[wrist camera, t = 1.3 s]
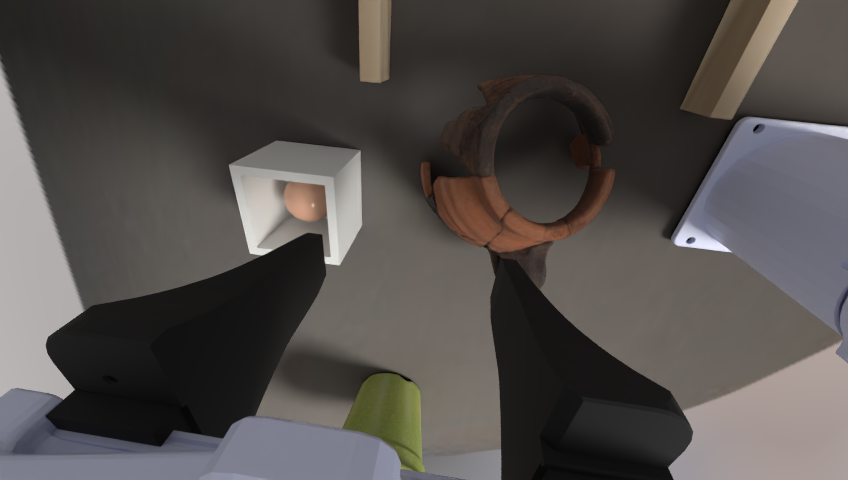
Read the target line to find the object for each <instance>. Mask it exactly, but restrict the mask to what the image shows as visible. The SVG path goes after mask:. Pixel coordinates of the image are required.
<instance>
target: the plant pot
mask: <svg viewBox="0 0 848 480" xmlns="http://www.w3.org/2000/svg"><path fill="white" fill-rule="evenodd" d="M342 429H347V430H353V431H359V432H363V433H366V434H369V435H372V436H376V437H379V438H381V439H382V440H383V441H385V442H386V443H388V444H389V445H391V446H392V447H393V448H394V449H395V451H396V452H397V455H398V457H399V459H400V462H401V469H405V470H411V471H417V472H423V473H425V470H424V465H423V463H422V448H421V415H420V392H419V389H418V387H417V386H416V385H415V384H414V383H413V382H412V381H406V380H404V379H403V378H402V377H401V376H399V375H397V374H391V373H379V374H374V375H372V376H370V377H369V378H368V379H367V380H366V381H365V382H364V383H363V384H362V386H361V388H360V390H359V392H358V395H357V397H356V399H355V401H354V404H353V406H352V408H351V410H350V413H349V415H348V417H347V419H346V421H345V424H344V426H343V428H342Z"/></svg>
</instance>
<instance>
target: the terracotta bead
mask: <svg viewBox="0 0 848 480" xmlns="http://www.w3.org/2000/svg"><path fill="white" fill-rule="evenodd" d="M284 203H285V206H286V208H287V209H288V211H289V212H290V213H291V214H292V215H293V216H294V217H296V218H298V219H300V220H303V221H309V222H310V221H317V220H320V219H322V218H324V217H325V216H326V215H327V206H326V194H325V185H318V184H309V183H301V182H293V181H289V182H288V184H287V186H286V187H285V190H284Z"/></svg>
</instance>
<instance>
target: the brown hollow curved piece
mask: <svg viewBox="0 0 848 480" xmlns="http://www.w3.org/2000/svg"><path fill="white" fill-rule="evenodd" d="M477 87H478V89H479V90H480V91H482V92H483V95H484V97H485V100H486V103H487V106H485V107H473V108H472V109H470V110H467V111H465V112H463V113H462V114H461V115H460V116H459V117H458V118H457V119H456V120H454V121H451V122H448V123H447V124H446V125H445V126H444V128H443V131H442V133H441V136H440V138H439V145H440V147H442V148H446V149H450V150H451V152H452V154H453V155H454V156H455V157H456V158H457V159H458V160H460V162H461V163H462V164H463V166H464V167H465V168H466V169H467V171H468V172H469V174H470V175H468V176H460V177H446V176H439V177H438V178H437V179H436V180H435V182H434V184H433V189H434V192H433V189H432V183H431V166H430V163H429V162H422V163H421V168H420V169H421V181H422V185H423V191H424V194H425V196H426V200H427V202H428V204H429V206H430V207H431V208H432V210H433V211H434V212H435V213H436V214H437V216H438V217H439V218H440V219H441V220H442V221H443V222H444V223H445V224H446V225H447V226H448V227H449V228H450V229H451V230H452V231H454V232H455V233H456V234H457V235H459V236H460V237H461V238H463V239H464V240H466V241H468V242H469V243H471V244H473V245H475V246H478V247H484V248H487V249H488V251H489V253H490V257H491V262H492V266H493V270H494V274H495V276H496V274H497V270H498V266H499V262H500V258H506V259H513V260H517V262H518V263H519V264H520V266H521V267H522V268H523V270H524V271H525V272H526V274H527V275H528V276H529V277H530V279H531V280H532V281H533V283H534V284H535V285H536V286H537V288H538V289H539V290H540V289H541V287H542V286H543V284H544V282H545V277H546V264H545V260H546V255H547V252H548V250H549V248H550V247H551V246H552V245H553V241H554V240H559V239H564V238H567V237H569V236H570V235H572V234H575V233H576V232H577V231H579V230H581V229H582V228H583V227H584V226H586V225H587V224H588V223H589V222H591V221H592V220H593V219H594V218H595V216H596V215H597V214H598V213H599V212H600V210H601V208H602V206H603V205H604V204H605V202H606V200H607V198H608V196H609V194H610V192H611V188H612V186H613V183H614V178H615V169H612V168H601V152H600V146H607V145H608V144H610V143H611V140H612V137H613V135H614V127H613V124H612V122H611V119H610V117H609V115H608V113H607V111H606V110H605V109H604V107H603V105H602V104H601V102H600V101H599V99H598V98H597V97H596V96H595V95H594V94H593V93H592V92H591V91H590V90H589V89H587V88H586V87H584V86H582V85H581V84H579V83H577V82H572V80H570V79H568V78H565V77H562V76H560V75H555V76H554V75H529V74H524V75H516V76H511V77H502V78H496V79H489V80H486V81H483V82H479V83H478V85H477ZM537 97H547V98H551V99H554V100H557V101H559V102H560V103H562V104H564V105H565V106H567V107H568V108H569V109H570V110H571V111H572V112H573V113H574V115H575V117H576V119H577V122H578V124H579V128H580V131H581V134H580V135H578V136H577V137H576V139H575V140H574V141H572V143H571V152H572V156H573V159H574V161H575V164H576V166H577V168H579V169H586V168H588V167H590V168H589V176H588V181H587V184H586V187H585V190H584V192H583V194H582V197H581V199H580V201H579V202H578V204H577V205H576V206H575V208H574V209H573V210H572V211H571V212H570V213H569V214H567V215H566V216H565V217H563V218H561V219H559V220H557V221H556V222H553V223H535V222H532V221H529V220H527V219H525V218H524V217H522V216H520V215H519V214H518V213H517V212H516V211H515V210H514V209H513V208H511V207H510V205H509V204H508V202H507V201H506V199H505V198H504V196H503V194H502V192H501V190H500V187H499V184H498V181H497V178H496V175H495V173H494V151H495V145H496V141H497V137H498V135H499V132H500V130H501V127H502V125H503V123H504V121H505V120H506V118H507V117H508V115H509V114H510V113H511V112H512V110H513V108H515V107H516V106H518V105H519V104H520V103H522V102H524V101H526V100H528V99H531V98H537ZM434 194H435V195H434Z"/></svg>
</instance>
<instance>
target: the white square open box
mask: <svg viewBox="0 0 848 480" xmlns="http://www.w3.org/2000/svg"><path fill="white" fill-rule="evenodd" d="M229 168H230V172H231V177H232V181H233V185H234V189H235V193H236V197H237V201H238V206H239V210H240V214H241V218H242V222H243V226H244V231H245V235H246V239H247V243H248V247H249V251H250V254H257V255H265V254H267V253H268V252H270V251H272V250H274V249H276V248H278V247H280V246H282V245H284V244H286V243H288V242H289V241H291V240H293V239H295V238H297V237H299V236H301V235H303V234H305V233H315V234H322V236H323V247H324V257H325V263H326V264H334V265H340V264H341V262H342V260H343V258H344V257H345V255H346V253H347V251H348V249H349V248H350V246H351V244H352V242H353V241H354V239H355V237H356V235H357V233H358V232H359V230H360V228H361V226H362V197H361V150H356V149H347V148H338V147H329V146H321V145H312V144H303V143H294V142H286V141H275V142H273V143H271V144H269V145H267V146H265V147H263V148H261V149H259V150H257V151H255V152H253V153H251V154H249V155H247V156H245V157H243V158H241V159H239V160H237V161H235V162H233V163H231V164H229ZM289 181H293V182H301V183H309V184H318V185H325V194H326V206H327V215H326V216H325V217H324V218H322V219H320V220H317V221H310V222H309V221H303V220H300V219H298V218H296V217H294V216H293V215H292V214H291V213H290V212H289V211H288V209H287V208H286V206H285V203H284V190H285V187H286V186H287V184H288V182H289Z"/></svg>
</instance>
